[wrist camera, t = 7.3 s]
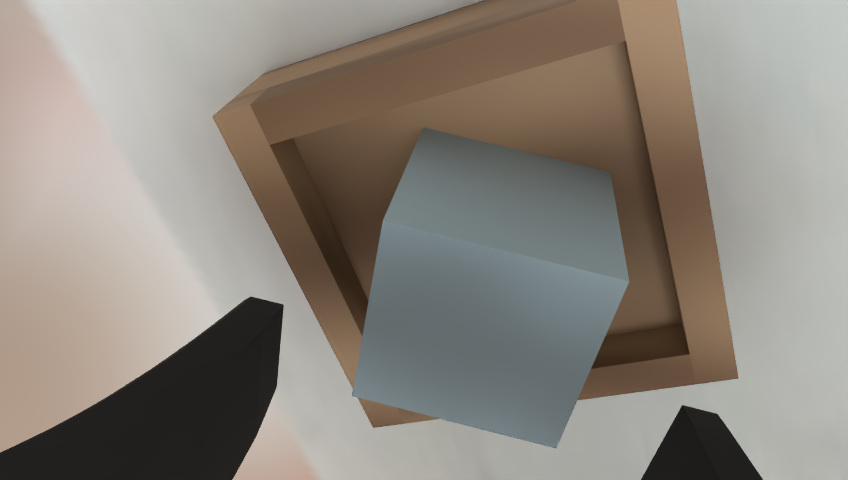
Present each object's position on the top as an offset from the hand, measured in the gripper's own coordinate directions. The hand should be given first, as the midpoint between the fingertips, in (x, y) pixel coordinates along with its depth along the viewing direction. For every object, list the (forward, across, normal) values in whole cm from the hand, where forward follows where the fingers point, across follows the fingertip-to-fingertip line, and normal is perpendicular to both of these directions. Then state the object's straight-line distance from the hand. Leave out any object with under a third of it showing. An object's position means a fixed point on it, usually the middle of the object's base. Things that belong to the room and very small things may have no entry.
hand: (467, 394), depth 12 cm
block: (+6, 0, 0) cm, 6 cm away
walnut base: (+8, 0, 0) cm, 8 cm away
